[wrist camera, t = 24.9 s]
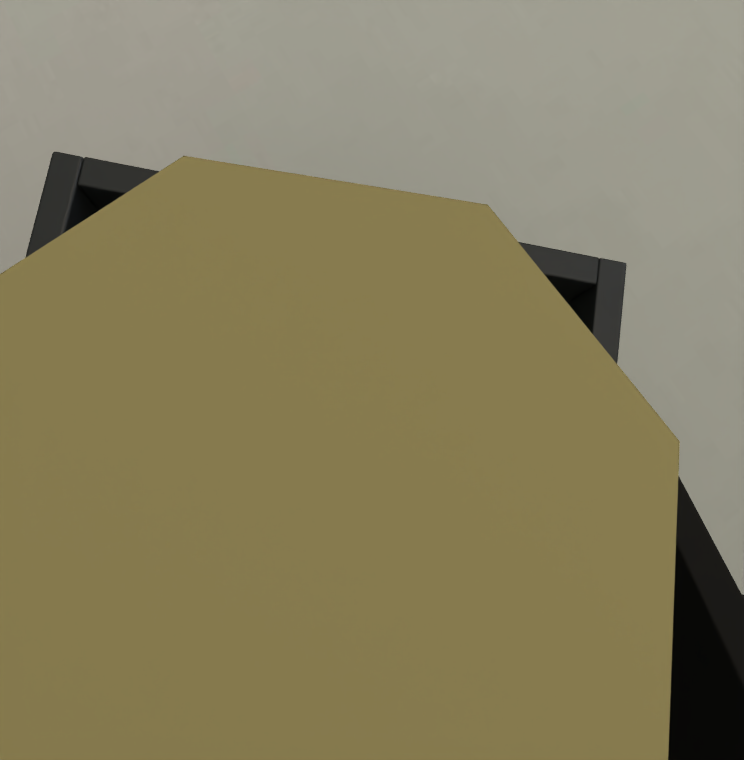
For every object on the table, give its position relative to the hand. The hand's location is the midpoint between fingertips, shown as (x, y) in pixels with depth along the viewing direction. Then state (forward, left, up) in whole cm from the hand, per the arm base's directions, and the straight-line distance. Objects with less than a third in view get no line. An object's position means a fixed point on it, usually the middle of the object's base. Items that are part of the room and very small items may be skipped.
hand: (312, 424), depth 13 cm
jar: (0, -2, -8) cm, 9 cm away
